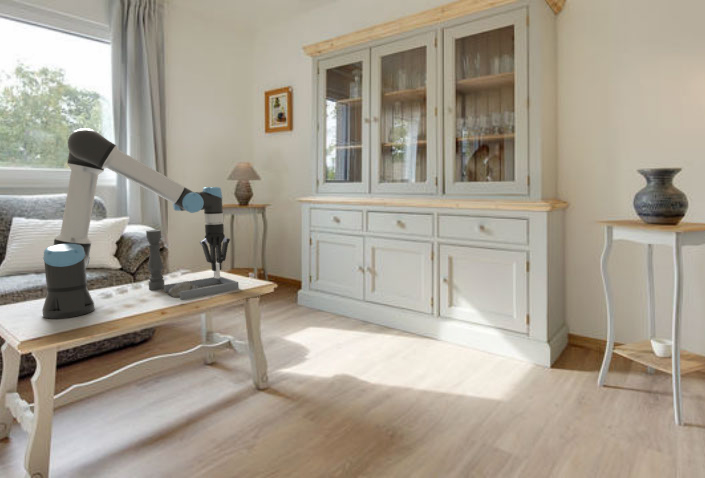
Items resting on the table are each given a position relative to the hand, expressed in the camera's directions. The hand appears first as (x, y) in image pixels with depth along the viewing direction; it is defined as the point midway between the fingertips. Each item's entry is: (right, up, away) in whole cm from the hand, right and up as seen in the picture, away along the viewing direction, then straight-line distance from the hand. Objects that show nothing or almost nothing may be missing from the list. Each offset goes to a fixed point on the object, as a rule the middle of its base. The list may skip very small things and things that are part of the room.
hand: (217, 277), depth 186 cm
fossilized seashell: (-10, -6, -11) cm, 16 cm away
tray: (-5, -5, -4) cm, 8 cm away
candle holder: (-26, -5, -1) cm, 26 cm away
